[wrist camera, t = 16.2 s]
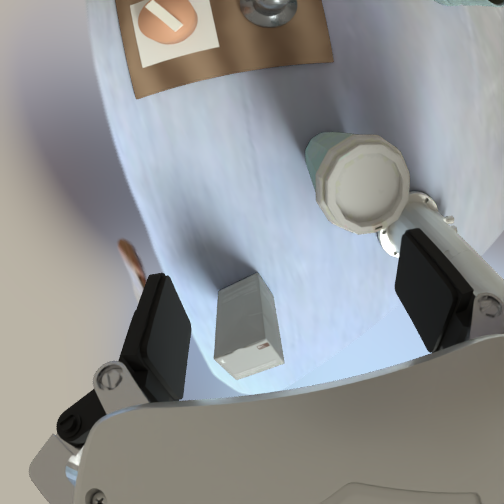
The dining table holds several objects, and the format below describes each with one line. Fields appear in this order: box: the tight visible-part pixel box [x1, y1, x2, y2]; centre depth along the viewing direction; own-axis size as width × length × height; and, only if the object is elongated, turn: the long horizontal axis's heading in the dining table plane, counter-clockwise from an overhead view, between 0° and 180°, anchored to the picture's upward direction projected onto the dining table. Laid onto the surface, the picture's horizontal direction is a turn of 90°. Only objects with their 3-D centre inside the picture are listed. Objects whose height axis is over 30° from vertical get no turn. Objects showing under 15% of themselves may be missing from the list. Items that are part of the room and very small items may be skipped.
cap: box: [138, 0, 198, 45], centre depth 24 cm, size 6×6×5 cm
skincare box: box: [214, 273, 284, 380], centre depth 44 cm, size 8×7×16 cm
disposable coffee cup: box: [305, 132, 410, 235], centre depth 32 cm, size 11×11×15 cm
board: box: [115, 0, 334, 99], centre depth 26 cm, size 26×18×1 cm
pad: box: [130, 0, 219, 68], centre depth 26 cm, size 10×10×1 cm
